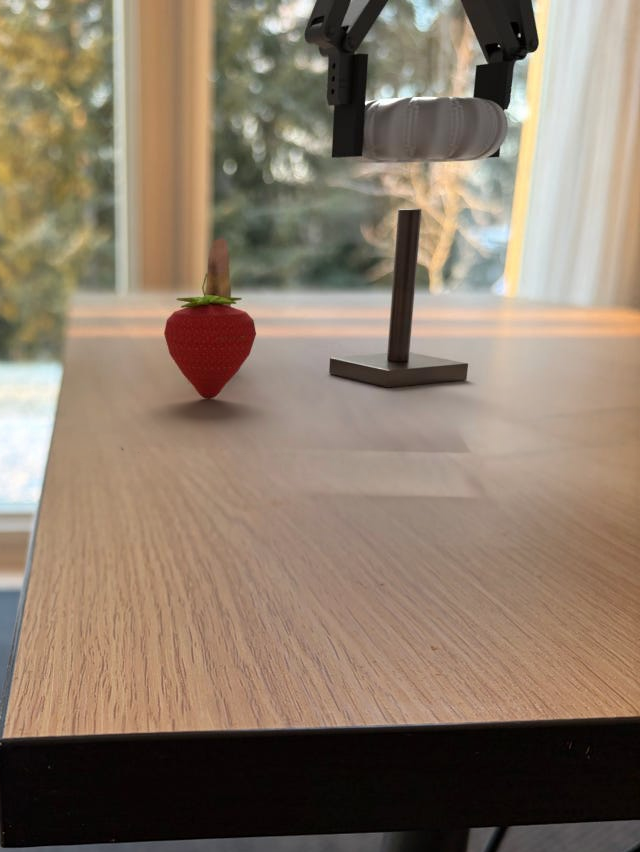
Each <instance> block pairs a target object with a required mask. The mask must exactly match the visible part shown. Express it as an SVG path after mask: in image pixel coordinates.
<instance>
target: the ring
mask: <svg viewBox="0 0 640 852" xmlns="http://www.w3.org/2000/svg"><path fill="white" fill-rule="evenodd" d="M508 125H509V123H508V118H507V115H506V113H505V110H504V111H503V109H502V108H501V107H500V106H499V105H498V104H496V103H495V102H493V101H490V100H485V99H481V98H473V97H471V96H470V97H468V96H415V97H412V96H411V97H398V98H383V99H374V100H367V101H366V100H365V117H364V134H363V152H362V156H359V157H344V158H345V159H347V160H348V161H350V162H354V163H367V164H368V163H369V164H371V163H372V164H398V163H399V164H400V163H403V164H404V163H406V164H408V163H410V164H411V163H412V164H413V163H448V162H449V163H451V162H471V161H477V160H478V161H479V160H483V159H488V158H487V157H489V156H491V155H492V154H494V153H495V152H496V151H497V150H498V149H499V148H500V149H501V147H502V146H503V144H504V142H505V140H506V138H507V135H508V128H509V126H508Z"/></svg>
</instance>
